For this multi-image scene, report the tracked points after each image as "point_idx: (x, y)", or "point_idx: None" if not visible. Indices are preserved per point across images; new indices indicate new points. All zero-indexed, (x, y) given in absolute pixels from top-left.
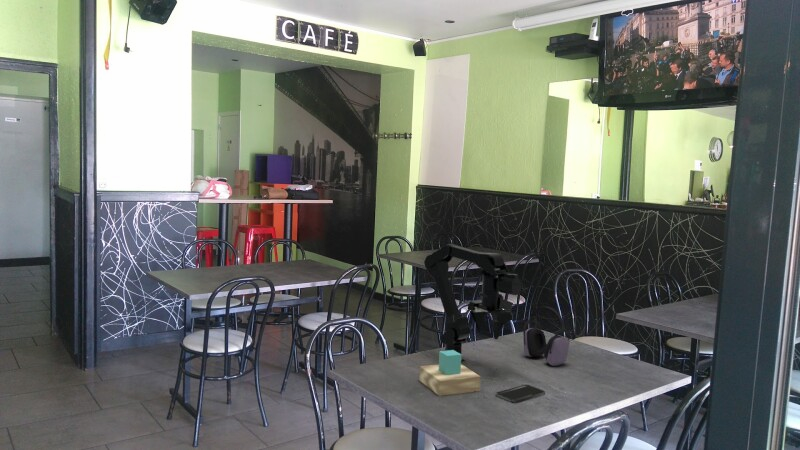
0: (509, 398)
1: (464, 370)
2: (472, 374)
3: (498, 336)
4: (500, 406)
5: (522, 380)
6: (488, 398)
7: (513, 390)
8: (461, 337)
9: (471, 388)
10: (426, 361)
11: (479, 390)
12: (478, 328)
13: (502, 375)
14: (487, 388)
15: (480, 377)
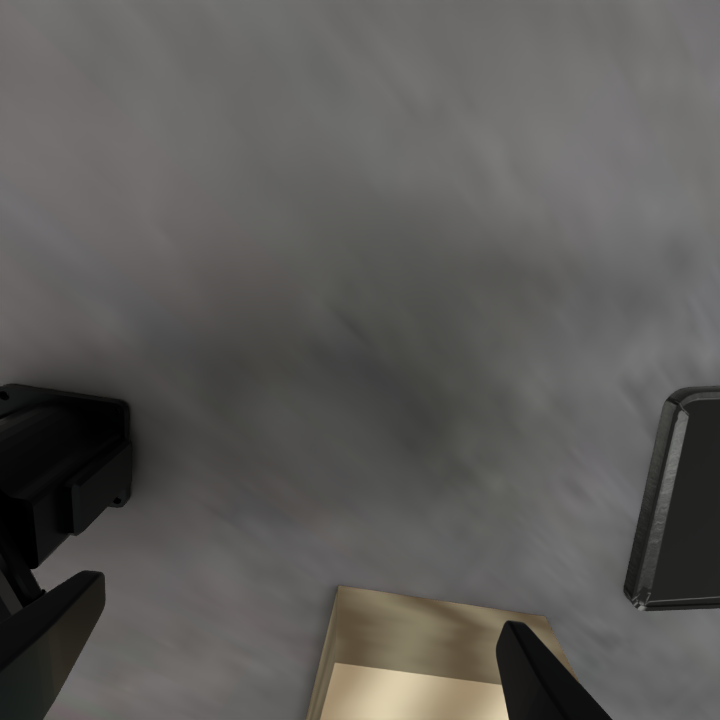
0: (712, 595)
1: (463, 707)
2: None
3: (558, 663)
4: (709, 649)
5: (593, 336)
6: (625, 637)
7: (670, 515)
8: (5, 603)
9: None
10: None
11: (544, 620)
12: (55, 696)
13: (460, 380)
14: (546, 573)
15: None
